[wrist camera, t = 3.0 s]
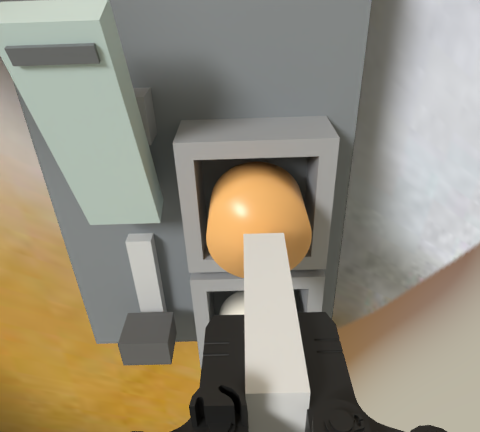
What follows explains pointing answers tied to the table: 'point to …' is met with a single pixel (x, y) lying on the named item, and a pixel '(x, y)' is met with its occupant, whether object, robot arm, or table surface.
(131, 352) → the slider
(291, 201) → the button
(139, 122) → the block
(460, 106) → the table surface
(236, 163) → the panel
